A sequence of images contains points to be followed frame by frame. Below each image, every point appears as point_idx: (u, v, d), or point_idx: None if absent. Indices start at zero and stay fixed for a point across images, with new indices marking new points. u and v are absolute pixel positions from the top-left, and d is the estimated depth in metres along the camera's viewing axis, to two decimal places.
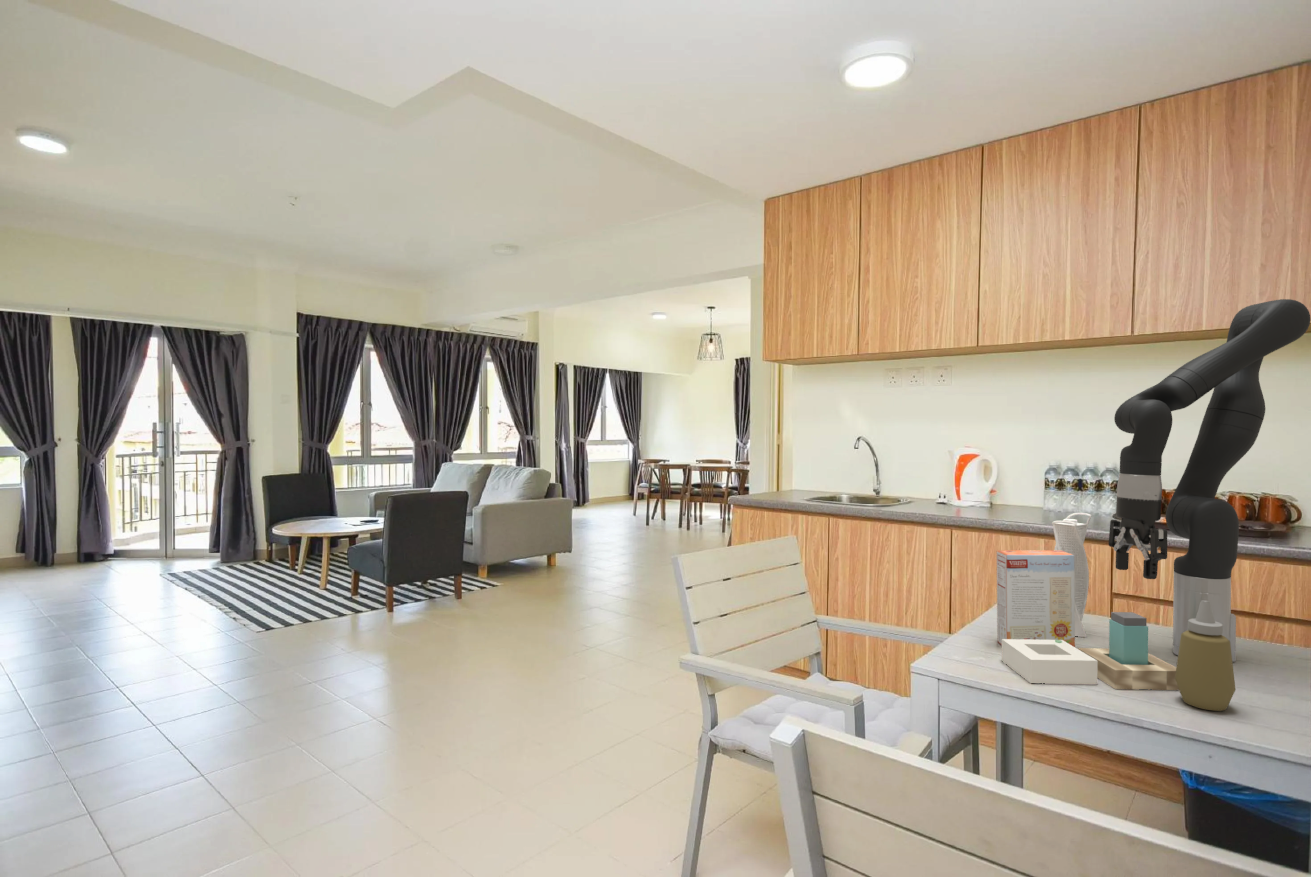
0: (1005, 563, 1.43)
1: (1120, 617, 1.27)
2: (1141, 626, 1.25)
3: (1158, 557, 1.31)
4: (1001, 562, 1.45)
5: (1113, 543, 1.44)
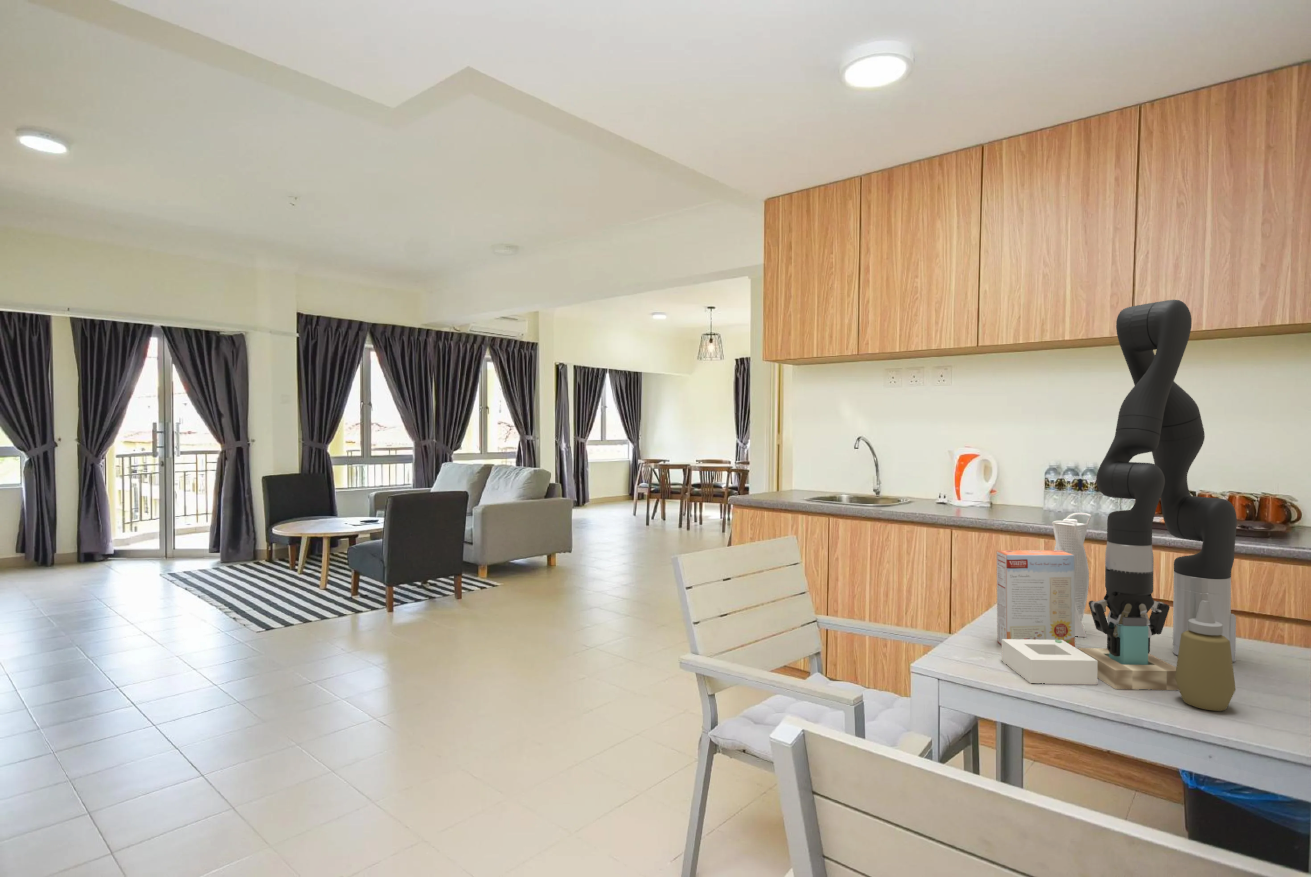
0: (1005, 563, 1.43)
1: None
2: (1141, 626, 1.25)
3: None
4: (1001, 562, 1.45)
5: None
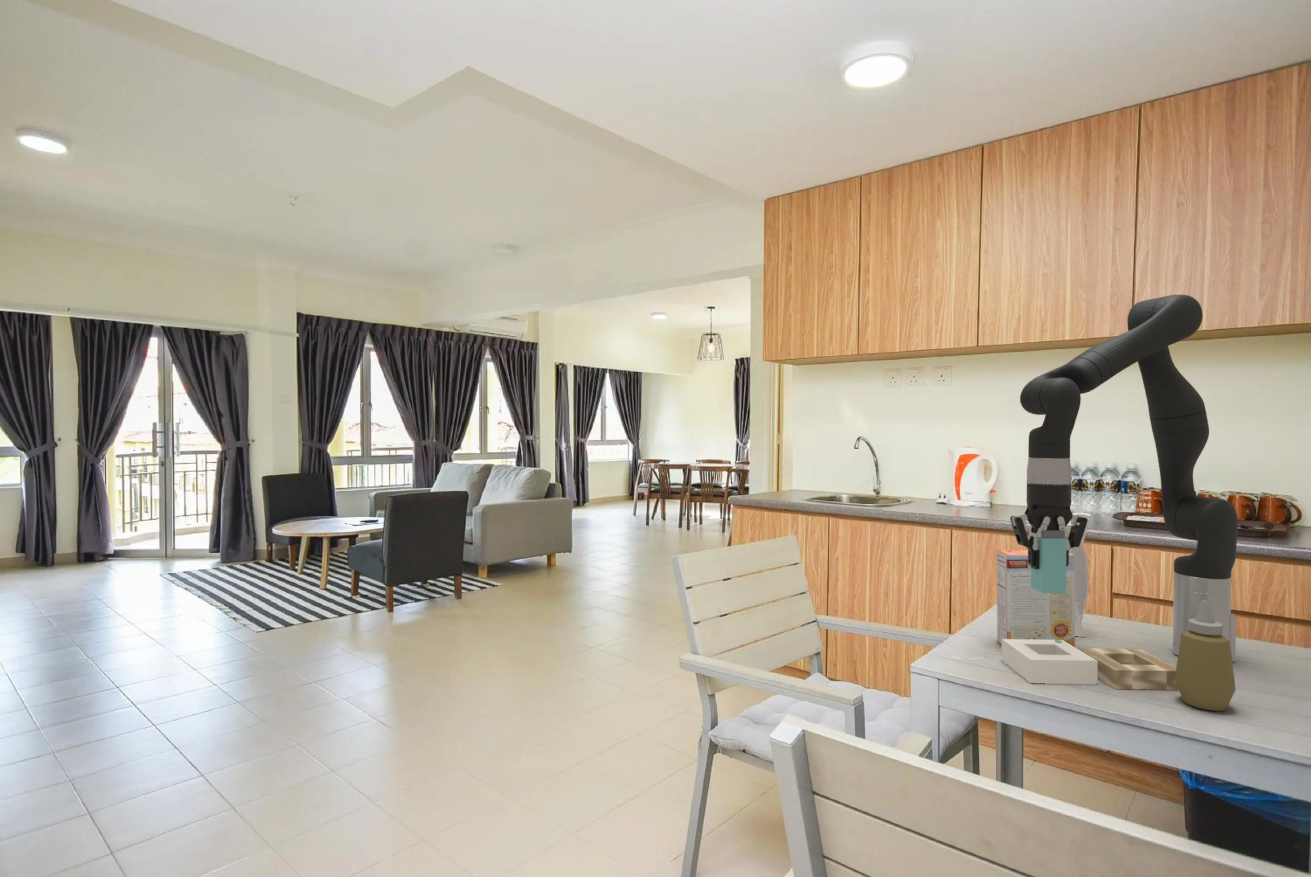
0: (1005, 563, 1.43)
1: None
2: (1059, 538, 1.28)
3: None
4: (1001, 562, 1.45)
5: None
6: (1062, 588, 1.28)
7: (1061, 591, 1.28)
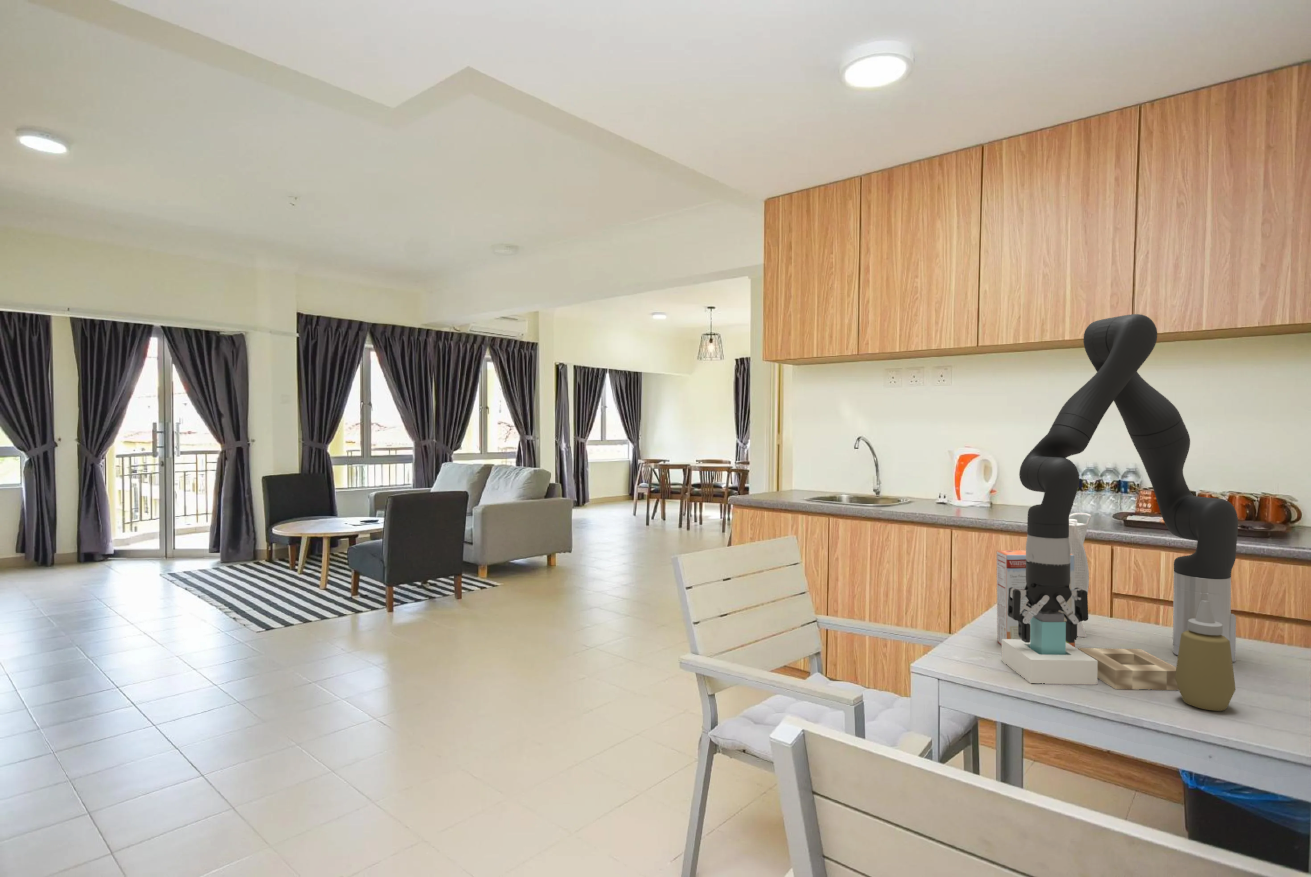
0: (1005, 563, 1.43)
1: (1039, 613, 1.29)
2: (1059, 622, 1.28)
3: None
4: (1001, 562, 1.45)
5: None
6: None
7: None
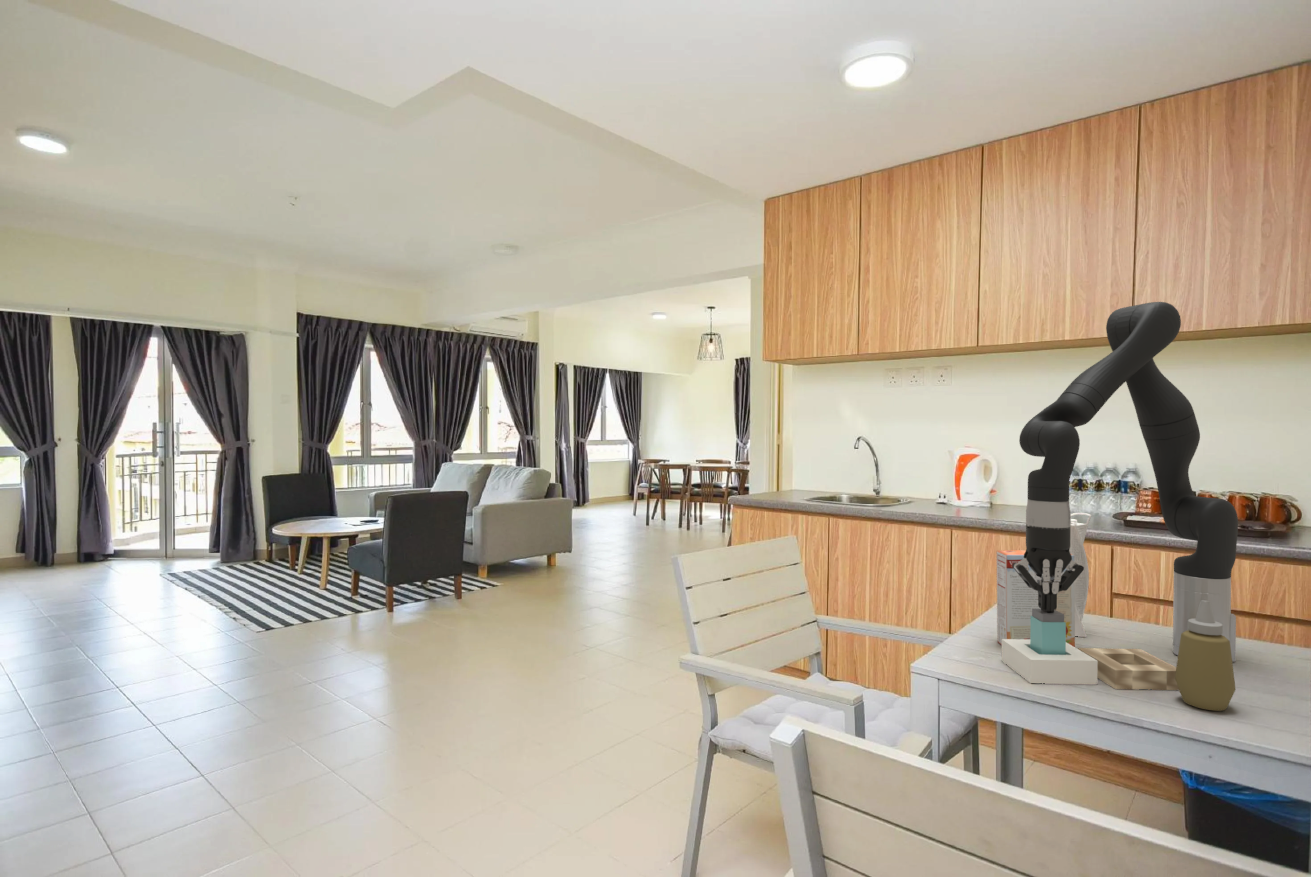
0: (1005, 563, 1.43)
1: (1039, 613, 1.29)
2: (1059, 622, 1.28)
3: None
4: (1001, 562, 1.45)
5: None
6: None
7: None
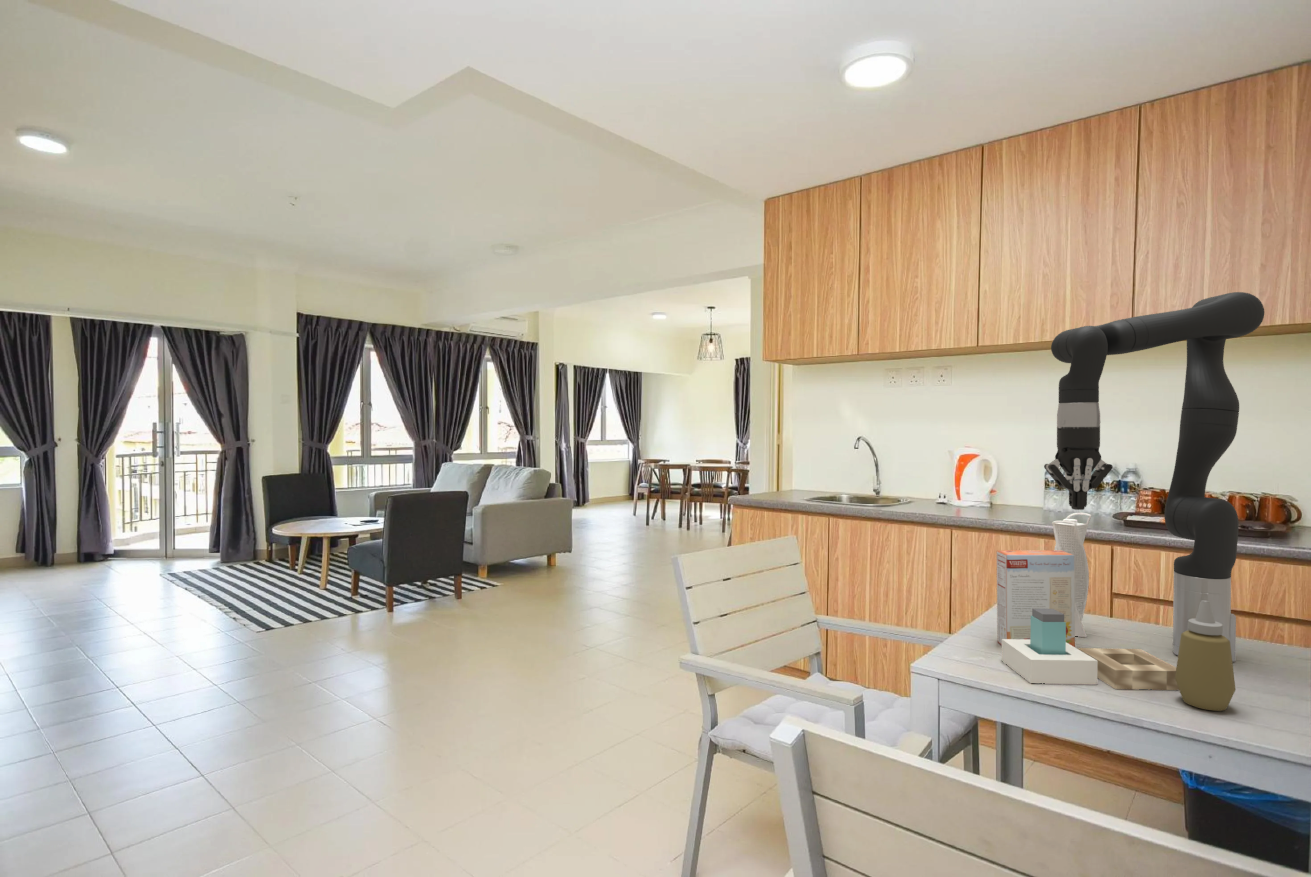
0: (1005, 563, 1.43)
1: (1039, 613, 1.29)
2: (1059, 622, 1.28)
3: None
4: (1001, 562, 1.45)
5: None
6: None
7: None
